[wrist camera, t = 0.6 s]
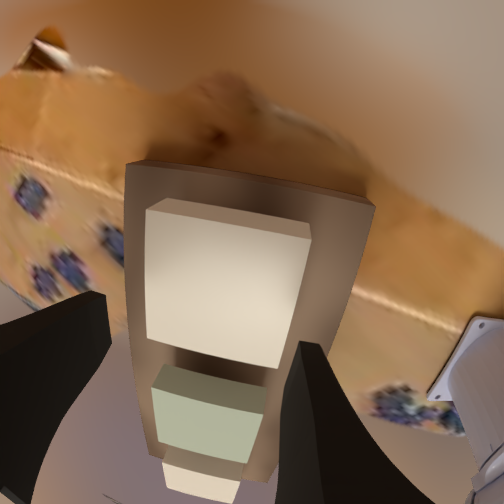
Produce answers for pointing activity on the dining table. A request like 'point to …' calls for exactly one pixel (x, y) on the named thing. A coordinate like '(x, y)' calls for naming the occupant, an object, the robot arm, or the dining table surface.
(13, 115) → the dining table surface
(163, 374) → the key middle
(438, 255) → the dining table surface
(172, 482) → the key
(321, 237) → the board
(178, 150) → the dining table surface
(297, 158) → the dining table surface
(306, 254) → the key
